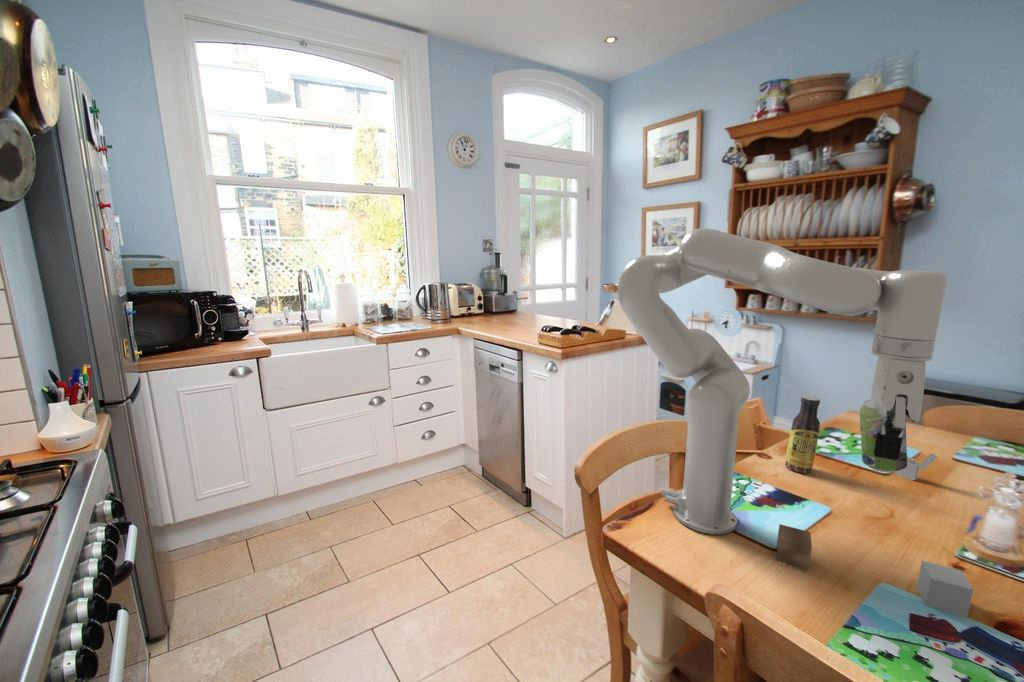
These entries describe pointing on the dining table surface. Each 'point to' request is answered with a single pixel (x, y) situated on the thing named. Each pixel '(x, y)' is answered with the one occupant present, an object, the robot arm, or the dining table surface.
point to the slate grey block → (944, 588)
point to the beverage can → (869, 430)
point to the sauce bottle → (804, 436)
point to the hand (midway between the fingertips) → (883, 452)
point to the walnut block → (794, 547)
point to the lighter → (915, 467)
